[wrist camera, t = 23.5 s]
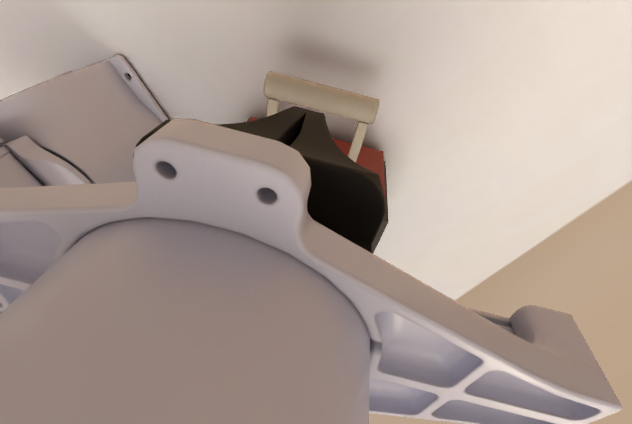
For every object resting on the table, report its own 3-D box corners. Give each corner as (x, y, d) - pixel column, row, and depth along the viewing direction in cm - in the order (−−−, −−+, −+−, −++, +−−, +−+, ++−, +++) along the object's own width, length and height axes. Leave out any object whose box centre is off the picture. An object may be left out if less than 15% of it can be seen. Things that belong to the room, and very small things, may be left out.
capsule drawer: (254, 48, 20) (219, 72, 16) (407, 89, 20) (416, 124, 16) (243, 225, 30) (220, 270, 26) (344, 251, 30) (339, 300, 26)
